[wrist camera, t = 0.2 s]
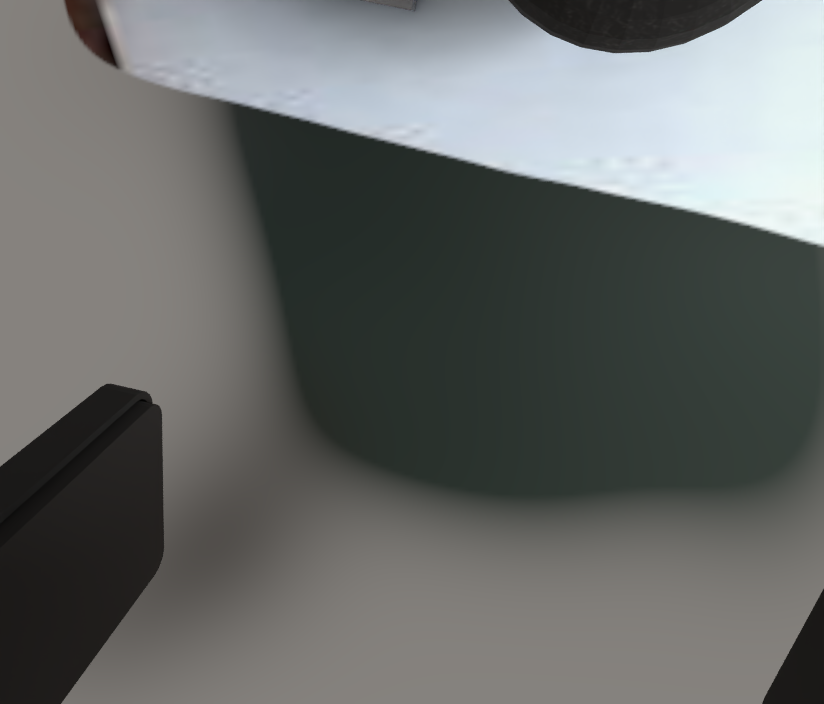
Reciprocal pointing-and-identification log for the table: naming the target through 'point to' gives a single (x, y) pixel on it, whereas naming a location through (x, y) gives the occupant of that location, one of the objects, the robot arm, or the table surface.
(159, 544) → the robot arm
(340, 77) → the table surface
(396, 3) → the pintle board
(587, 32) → the black stone ball
